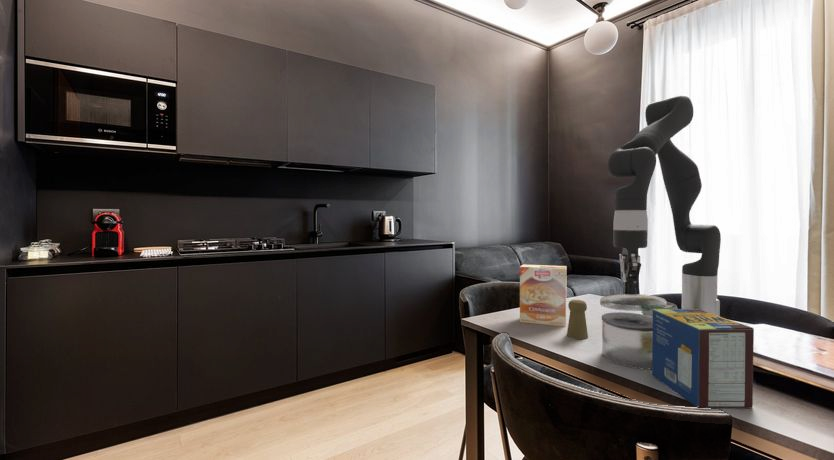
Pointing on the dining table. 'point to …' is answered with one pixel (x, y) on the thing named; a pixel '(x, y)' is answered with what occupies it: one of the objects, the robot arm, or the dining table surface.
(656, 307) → the cooker lid
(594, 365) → the dining table surface
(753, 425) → the dining table surface
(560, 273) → the coffeecake box
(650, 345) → the cooker pot
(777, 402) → the dining table surface
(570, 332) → the cork
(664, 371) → the protein box
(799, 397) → the dining table surface
